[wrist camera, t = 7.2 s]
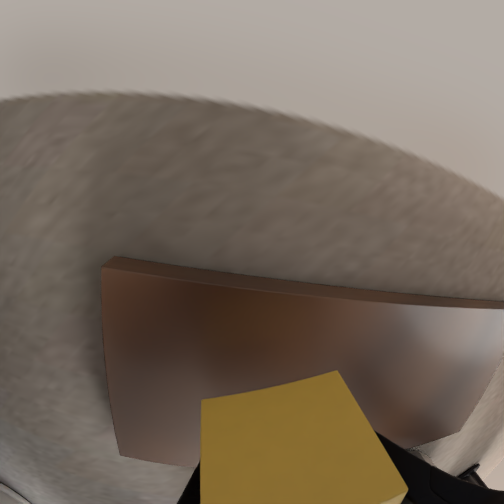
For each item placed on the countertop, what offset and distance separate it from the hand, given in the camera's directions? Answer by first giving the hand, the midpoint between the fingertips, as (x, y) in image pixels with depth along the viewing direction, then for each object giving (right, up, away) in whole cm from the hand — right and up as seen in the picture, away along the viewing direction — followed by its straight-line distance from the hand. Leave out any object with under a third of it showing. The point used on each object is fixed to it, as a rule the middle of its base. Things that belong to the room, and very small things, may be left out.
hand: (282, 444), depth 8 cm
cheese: (0, 0, 0) cm, 0 cm away
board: (+4, 0, +4) cm, 5 cm away
